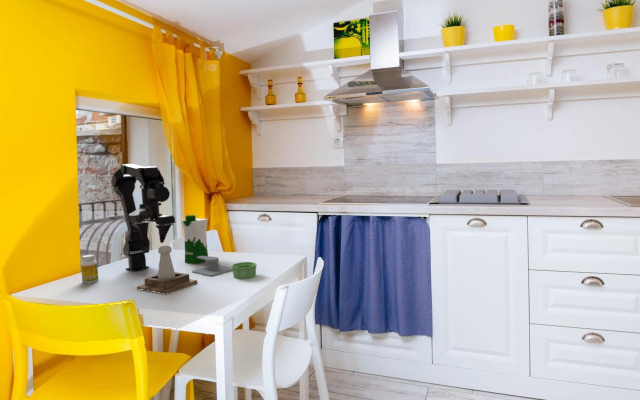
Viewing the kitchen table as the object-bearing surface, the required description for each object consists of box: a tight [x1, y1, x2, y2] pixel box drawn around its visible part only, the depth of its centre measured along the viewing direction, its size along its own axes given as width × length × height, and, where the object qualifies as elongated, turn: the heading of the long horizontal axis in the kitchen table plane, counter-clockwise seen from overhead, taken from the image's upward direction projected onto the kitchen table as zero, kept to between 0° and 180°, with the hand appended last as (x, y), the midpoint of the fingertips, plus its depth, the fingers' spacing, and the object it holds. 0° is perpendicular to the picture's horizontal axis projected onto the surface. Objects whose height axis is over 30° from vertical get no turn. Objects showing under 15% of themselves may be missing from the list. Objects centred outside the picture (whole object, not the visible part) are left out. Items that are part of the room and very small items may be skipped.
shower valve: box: [191, 255, 233, 278], centre depth 179 cm, size 12×6×15 cm
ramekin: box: [231, 261, 257, 280], centre depth 169 cm, size 9×9×4 cm
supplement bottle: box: [80, 254, 99, 284], centre depth 168 cm, size 5×5×10 cm
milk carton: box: [180, 214, 209, 265], centre depth 194 cm, size 9×9×20 cm
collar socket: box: [136, 271, 198, 295], centre depth 159 cm, size 14×14×4 cm
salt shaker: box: [157, 245, 176, 280], centre depth 158 cm, size 6×6×13 cm
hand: (153, 242), depth 172 cm, fingers open, 9 cm apart
